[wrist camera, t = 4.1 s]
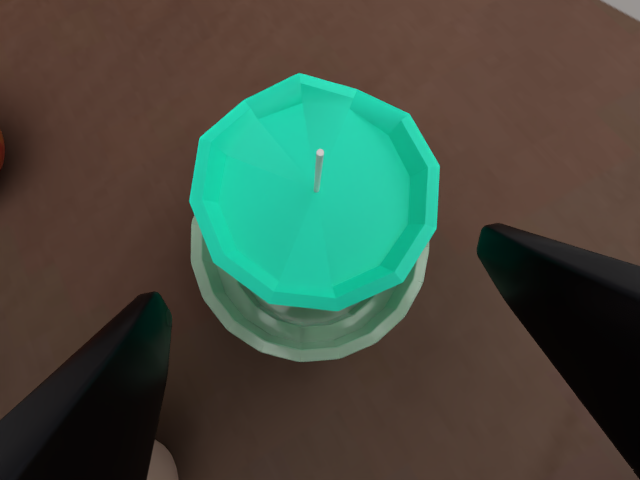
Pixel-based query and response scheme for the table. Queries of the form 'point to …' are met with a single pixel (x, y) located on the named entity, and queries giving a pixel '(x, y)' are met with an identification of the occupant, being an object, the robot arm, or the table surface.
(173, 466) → the egg
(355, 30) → the table surface
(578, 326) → the robot arm
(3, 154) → the fruit
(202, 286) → the bowl
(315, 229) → the candle
